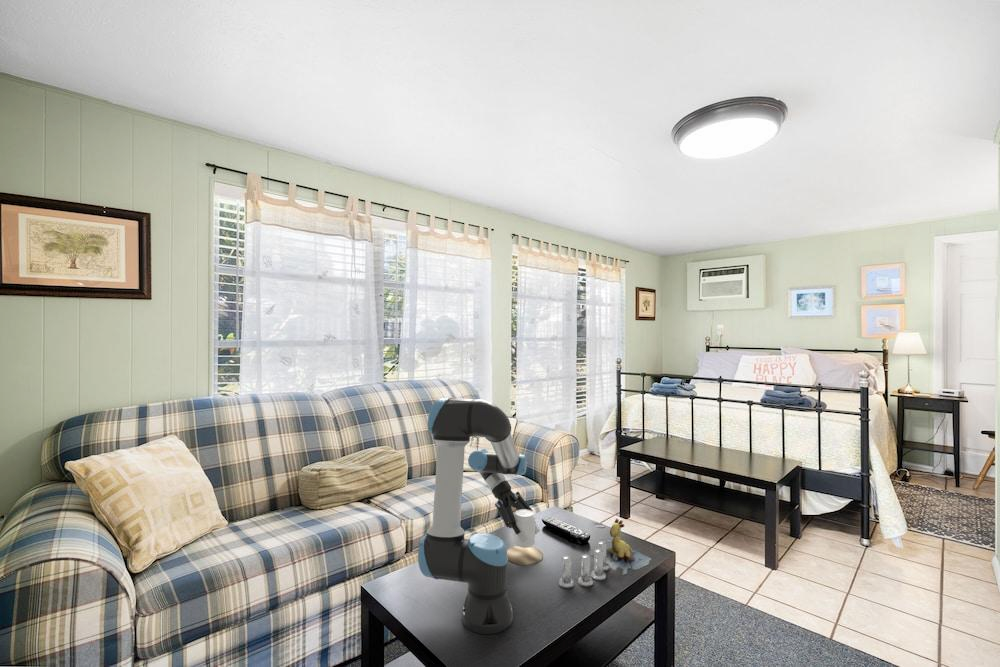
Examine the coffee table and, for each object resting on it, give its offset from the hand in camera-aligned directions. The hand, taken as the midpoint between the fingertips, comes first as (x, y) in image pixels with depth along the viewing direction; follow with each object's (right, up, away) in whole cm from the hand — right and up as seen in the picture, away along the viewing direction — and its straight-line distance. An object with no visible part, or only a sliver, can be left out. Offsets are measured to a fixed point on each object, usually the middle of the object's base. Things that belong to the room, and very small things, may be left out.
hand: (531, 536), depth 170 cm
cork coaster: (-3, -8, +2) cm, 9 cm away
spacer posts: (+19, -8, -13) cm, 24 cm away
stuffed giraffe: (+35, -9, 0) cm, 36 cm away
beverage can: (-3, -4, +2) cm, 5 cm away
